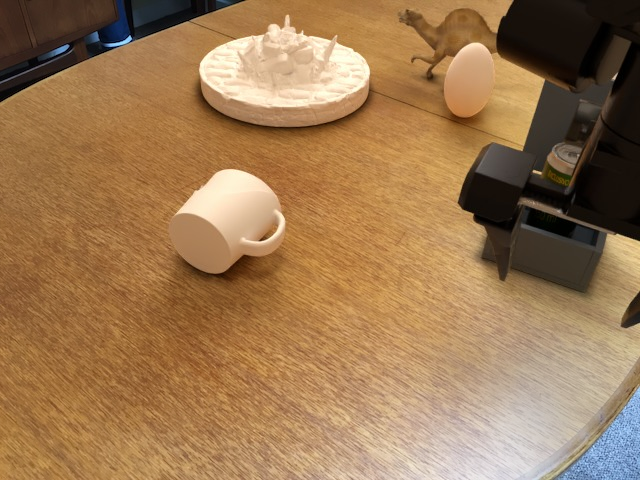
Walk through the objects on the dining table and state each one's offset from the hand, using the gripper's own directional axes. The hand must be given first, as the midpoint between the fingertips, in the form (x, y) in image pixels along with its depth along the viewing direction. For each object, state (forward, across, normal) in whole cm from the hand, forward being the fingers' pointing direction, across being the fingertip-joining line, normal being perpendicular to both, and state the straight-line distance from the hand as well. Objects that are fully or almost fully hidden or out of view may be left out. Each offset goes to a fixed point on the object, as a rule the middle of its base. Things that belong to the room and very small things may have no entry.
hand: (561, 300), depth 46 cm
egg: (+15, +20, -49) cm, 55 cm away
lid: (+1, +3, -30) cm, 30 cm away
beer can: (+13, +2, -23) cm, 26 cm away
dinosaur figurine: (+15, +23, -59) cm, 65 cm away
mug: (+15, +33, -4) cm, 36 cm away
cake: (+16, +49, -43) cm, 67 cm away
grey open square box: (+13, +2, -23) cm, 27 cm away
